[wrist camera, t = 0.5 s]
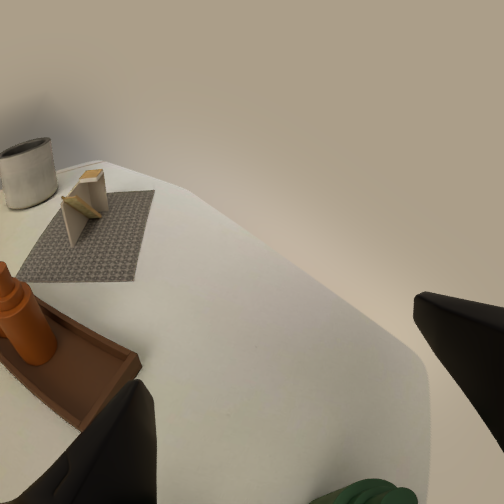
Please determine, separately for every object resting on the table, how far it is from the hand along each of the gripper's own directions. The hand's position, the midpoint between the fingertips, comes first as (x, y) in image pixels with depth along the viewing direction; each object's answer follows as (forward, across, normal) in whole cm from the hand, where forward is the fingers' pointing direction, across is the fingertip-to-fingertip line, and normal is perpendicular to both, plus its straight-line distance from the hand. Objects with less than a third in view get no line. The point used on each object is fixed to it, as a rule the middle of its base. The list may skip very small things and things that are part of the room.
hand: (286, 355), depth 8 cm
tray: (+13, +21, +5) cm, 26 cm away
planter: (+47, +39, -11) cm, 62 cm away
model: (+35, +21, -1) cm, 41 cm away
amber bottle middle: (+13, +21, +5) cm, 25 cm away
